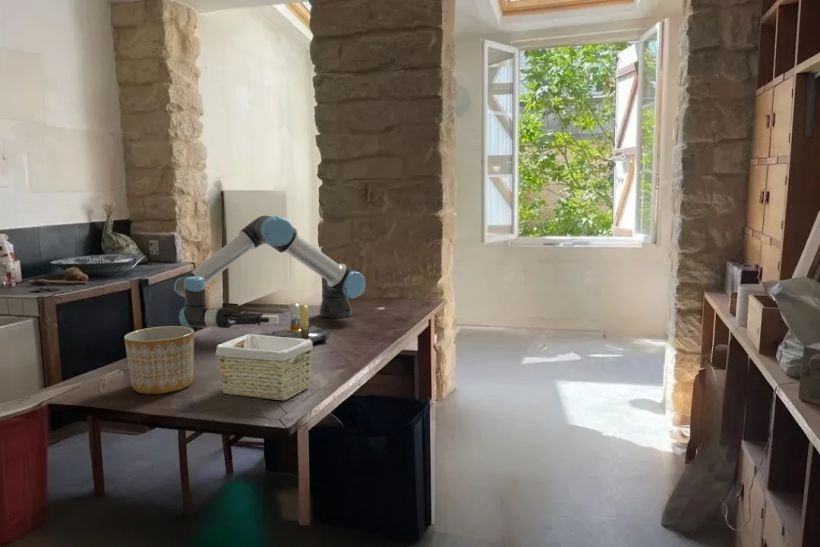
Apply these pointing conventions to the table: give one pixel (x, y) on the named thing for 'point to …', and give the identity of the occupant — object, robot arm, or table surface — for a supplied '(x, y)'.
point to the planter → (160, 358)
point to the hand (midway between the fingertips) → (277, 319)
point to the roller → (294, 316)
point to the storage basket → (265, 366)
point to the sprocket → (304, 329)
